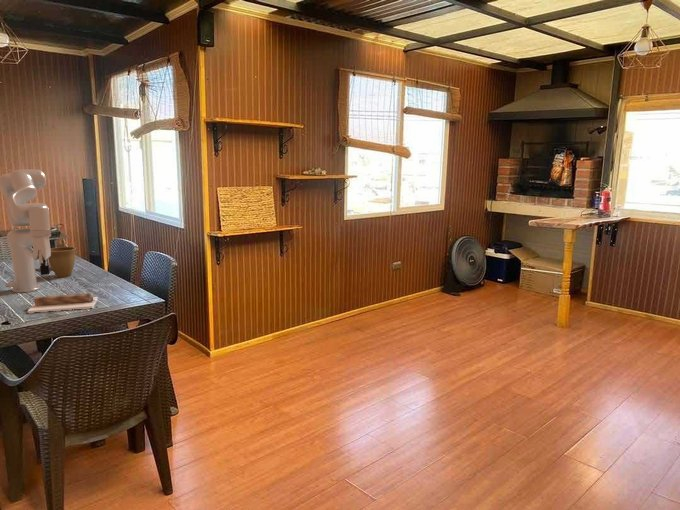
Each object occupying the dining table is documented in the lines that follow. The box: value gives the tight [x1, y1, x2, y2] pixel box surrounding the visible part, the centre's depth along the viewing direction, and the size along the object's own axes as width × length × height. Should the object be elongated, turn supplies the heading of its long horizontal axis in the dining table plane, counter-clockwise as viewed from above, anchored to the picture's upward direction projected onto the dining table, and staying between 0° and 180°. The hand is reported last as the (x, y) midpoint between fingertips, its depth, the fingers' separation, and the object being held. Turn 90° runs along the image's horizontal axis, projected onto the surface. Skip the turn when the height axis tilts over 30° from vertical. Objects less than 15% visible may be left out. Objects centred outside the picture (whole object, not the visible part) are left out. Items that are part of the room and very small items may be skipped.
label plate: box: [27, 296, 99, 314], centre depth 229 cm, size 26×16×2 cm, turn 108°
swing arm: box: [33, 292, 94, 305], centre depth 228 cm, size 24×3×3 cm, turn 108°
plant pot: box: [48, 246, 77, 278], centre depth 282 cm, size 15×15×16 cm
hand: (45, 274), depth 218 cm, fingers closed
